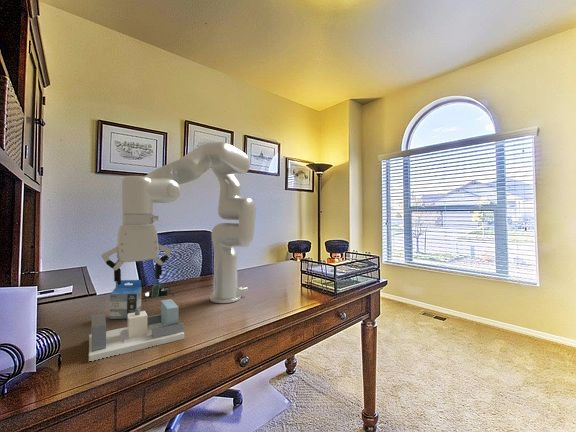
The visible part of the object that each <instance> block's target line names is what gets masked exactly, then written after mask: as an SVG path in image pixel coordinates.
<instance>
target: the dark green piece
mask: <svg viewBox="0 0 576 432" xmlns="http://www.w3.org/2000/svg"><path fill="white" fill-rule="evenodd" d="M170 292H171V294H172V295H171V296H172V297H174V295H175V292H174V290H172V291H171V287H170V286H169V287H168V286H166V285H165V284H164V282H160V283H159V284H153V286H152V290H151V291H150V292H149V291H147V292H145V293H144V295H145V297H149V296H150V293H151V298H159V296H160V297H161V298H163V297H165V298H166V297H167V296H168V295H169V294H170Z"/></svg>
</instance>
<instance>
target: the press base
mask: <svg viewBox="0 0 576 432" xmlns="http://www.w3.org/2000/svg"><path fill="white" fill-rule="evenodd" d="M149 326H150V328H151V330H152V328H157V327H162V326H163V325H162V323H158V324H153V325H149ZM125 329H127V326H125V327H120V328H115V329H111V330H106V349H102V350H97V351H93V352H91V345H92V333H91V334H88V336H89V338H88V339H89V340H88V346H89V347H88V362H89V361H92V362H95V361H94V360H96V361H98V359H100V360H103V359H102V358H104V359H107V358H106V357H108V358H111V357H110V356H112V357H115V356H114V355H116V356H120V355H123V354H128V353H131V352H135V351H140V350H145V349H148V347H149V348H152V346H153V347H157V346H160V345H165V344H169V343H171V342H177V341H180V340H184V339H185V332H184V331H183V332H180V333H176V334H171V335H167V336H163V337H159V338H154V339H152V337H147V338H143V339H139V340H134V341H130V342H125V343H124V340H123V336H122V330H125ZM156 345H157V346H156ZM119 354H120V355H119Z"/></svg>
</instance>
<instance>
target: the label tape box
mask: <svg viewBox="0 0 576 432" xmlns="http://www.w3.org/2000/svg"><path fill="white" fill-rule="evenodd" d="M135 309H140V311H142V280H141V279H121V284H120V285H118V284H117V281H115V288H114V289H112V292H111V293H110V294H109V320H116V319H117V320H119V319H121V320H123V319H126V320H127V314H129V313H135Z"/></svg>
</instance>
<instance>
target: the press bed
mask: <svg viewBox="0 0 576 432" xmlns="http://www.w3.org/2000/svg"><path fill="white" fill-rule="evenodd" d="M158 323H161V313H159V314H153V315H147V333H146V334H142V335H137V336H132V337H129V336H128V332H127V329H125V330H122V336H123V340H124V343H125V342H130V341H134V340H139V339H143V338H147V337H152V339H154V338H159V337H163V336H167V335H171V334H176V333H180V332H184V322H183V321H181V322H179V323H176V324H171V325H166V326H162V327H157V328H152V330H151V328H150V326H149V325H153V324H158ZM106 331H107V319H106V312H101V313H95V314H91V334H92V345H91V352H93V351H97V350H102V349H106Z"/></svg>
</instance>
